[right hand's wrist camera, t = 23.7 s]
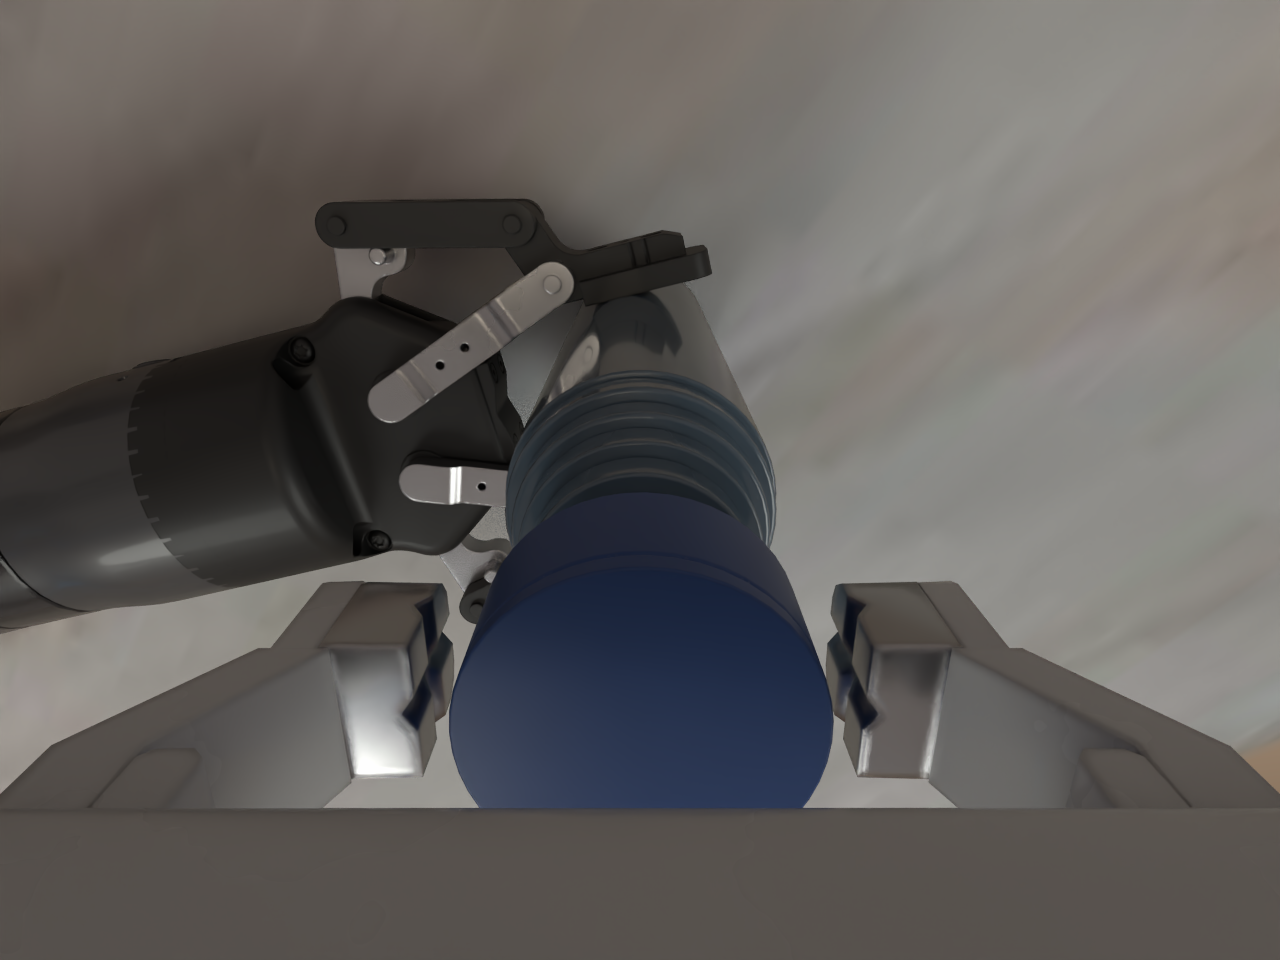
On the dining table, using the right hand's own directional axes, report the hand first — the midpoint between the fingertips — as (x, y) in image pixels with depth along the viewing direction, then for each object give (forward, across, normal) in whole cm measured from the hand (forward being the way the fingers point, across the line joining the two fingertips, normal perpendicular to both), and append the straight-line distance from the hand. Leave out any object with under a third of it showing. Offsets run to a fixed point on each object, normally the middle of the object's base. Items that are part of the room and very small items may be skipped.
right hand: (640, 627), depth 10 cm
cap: (-2, 0, 0) cm, 2 cm away
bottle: (+21, 0, 0) cm, 21 cm away
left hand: (+14, -2, -1) cm, 15 cm away
